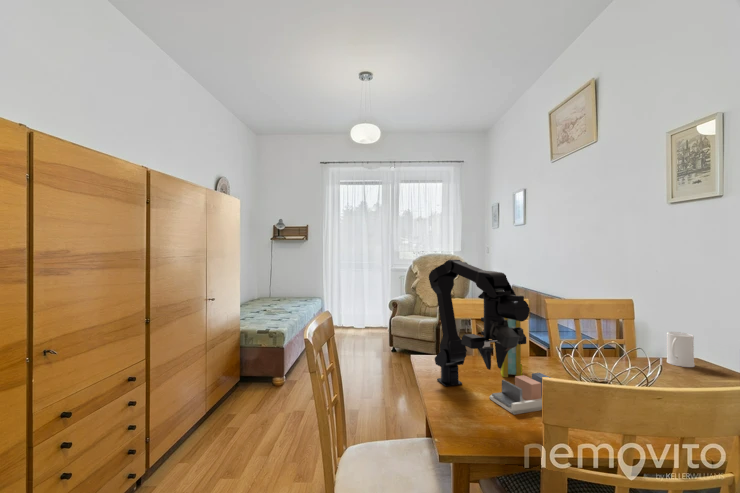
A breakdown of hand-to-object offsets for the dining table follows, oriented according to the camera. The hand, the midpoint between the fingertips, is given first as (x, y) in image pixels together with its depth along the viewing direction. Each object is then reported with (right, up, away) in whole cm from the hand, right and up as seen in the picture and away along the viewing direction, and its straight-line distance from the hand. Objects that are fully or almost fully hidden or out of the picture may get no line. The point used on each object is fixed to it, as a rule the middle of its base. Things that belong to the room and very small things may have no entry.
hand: (494, 368), depth 103 cm
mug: (+87, -12, +38) cm, 95 cm away
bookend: (+4, -10, +1) cm, 11 cm away
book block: (+11, -10, +3) cm, 16 cm away
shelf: (+11, -11, +3) cm, 16 cm away
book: (+16, -12, +32) cm, 37 cm away
